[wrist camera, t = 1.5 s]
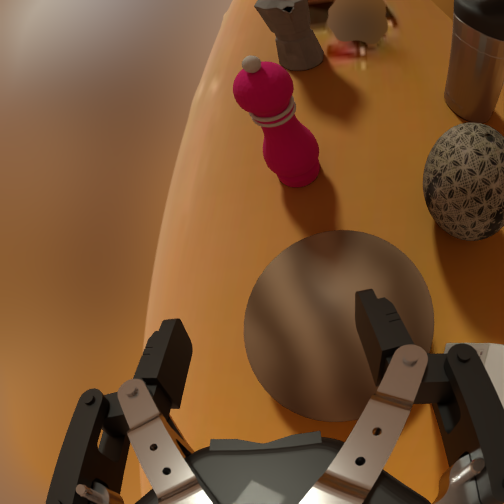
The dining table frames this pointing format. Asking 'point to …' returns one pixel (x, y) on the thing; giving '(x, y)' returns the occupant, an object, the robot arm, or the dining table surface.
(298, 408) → the walnut base
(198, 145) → the dining table surface
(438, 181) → the decorative egg
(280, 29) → the coffeepot
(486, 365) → the supplement box
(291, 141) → the pepper mill
